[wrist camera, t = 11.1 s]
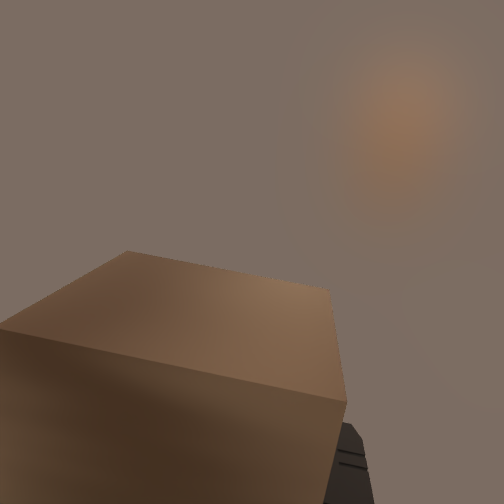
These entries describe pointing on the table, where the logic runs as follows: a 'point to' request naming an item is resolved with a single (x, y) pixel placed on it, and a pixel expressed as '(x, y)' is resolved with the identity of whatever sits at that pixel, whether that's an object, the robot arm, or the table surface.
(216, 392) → the walnut block
